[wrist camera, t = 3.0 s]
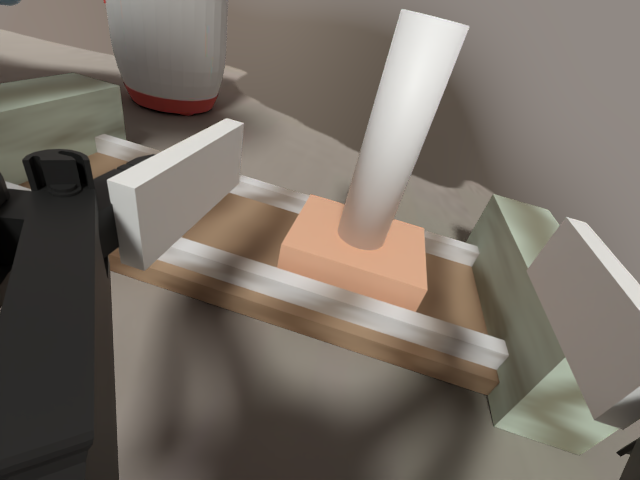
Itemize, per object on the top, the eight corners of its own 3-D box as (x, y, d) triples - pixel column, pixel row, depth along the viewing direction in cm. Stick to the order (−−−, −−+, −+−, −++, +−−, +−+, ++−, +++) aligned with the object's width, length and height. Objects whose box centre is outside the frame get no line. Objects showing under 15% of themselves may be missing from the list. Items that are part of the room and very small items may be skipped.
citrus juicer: (137, 80, 59) (123, -72, 48) (236, 103, 60) (245, -40, 49) (79, 100, 46) (40, -100, 35) (206, 130, 47) (209, -56, 36)
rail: (-131, 215, 23) (-201, 110, 19) (82, 139, 38) (69, 71, 34) (588, 458, 19) (689, 392, 15) (512, 270, 34) (554, 211, 30)
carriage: (276, 272, 24) (326, -13, 15) (305, 218, 31) (353, -2, 21) (413, 316, 23) (559, 47, 14) (413, 251, 30) (512, 39, 20)
